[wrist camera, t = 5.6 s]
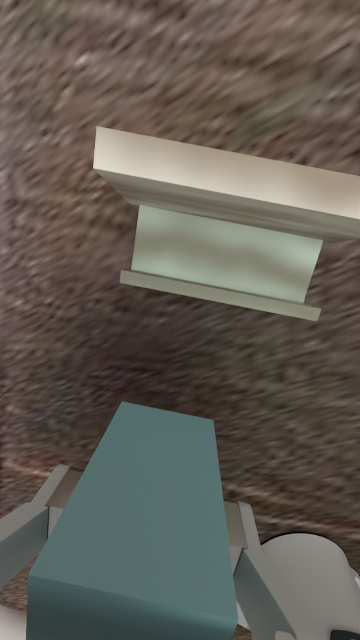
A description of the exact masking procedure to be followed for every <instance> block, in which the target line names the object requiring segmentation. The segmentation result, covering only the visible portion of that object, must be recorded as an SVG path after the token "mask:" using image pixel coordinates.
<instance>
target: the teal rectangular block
mask: <svg viewBox="0 0 360 640" xmlns="http://www.w3.org/2000/svg"><path fill="white" fill-rule="evenodd" d="M238 621H239V619H238V612H237V604H236V596H235V588H234V580H233V572H232V564H231V556H230V548H229V540H228V533H227V525H226V517H225V509H224V501H223V493H222V485H221V477H220V469H219V461H218V454H217V446H216V438H215V430H214V422H213V420H211V419H206V418H201V417H196V416H191V415H186V414H181V413H176V412H171V411H166V410H162V409H157V408H152V407H147V406H142V405H137V404H132V403H127V402H121V404H120V406H119V408H118V410H117V412H116V413H115V415H114V417H113V419H112V421H111V423H110V424H109V426H108V428H107V430H106V432H105V434H104V436H103V437H102V439H101V441H100V443H99V445H98V447H97V449H96V450H95V452H94V454H93V456H92V458H91V460H90V462H89V463H88V465H87V467H86V469H85V471H84V473H83V474H82V476H81V478H80V480H79V482H78V484H77V486H76V487H75V489H74V491H73V493H72V495H71V497H70V499H69V500H68V502H67V504H66V506H65V508H64V510H63V512H62V513H61V515H60V517H59V519H58V521H57V523H56V524H55V526H54V528H53V530H52V532H51V534H50V536H49V537H48V539H47V541H46V543H45V545H44V547H43V549H42V550H41V552H40V554H39V556H38V558H37V560H36V562H35V563H34V565H33V567H32V569H31V571H30V573H29V575H28V601H27V627H26V628H27V629H26V640H231V639H232V636H233V634H234V631H235V629H236V626H237V623H238Z"/></svg>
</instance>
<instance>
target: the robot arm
mask: <svg viewBox="0 0 360 640" xmlns="http://www.w3.org/2000/svg"><path fill="white" fill-rule="evenodd" d="M84 471H85V470H83V469H79V468H75V467H71V466H67V465H62V464H59V465H58V466H56V467H55V469H54V470H53V472H52V473H51V474H50V476H49V477H48V479H47V480H46V482H45V483H44V484H43V486H42V487H41V489H40V490H39V492H38V493H37V494H36V496H35V497H34V499H33V500H32V502H31V503H29V502H26V503H25V504H23V505H22V506H20V507H19V508H17V509H15V510H14V511H12V512H11V513H9V514H8V515H6V516H5V517H3V518H2V519H0V589H1V588H2V587H3V586H5V585H6V584H7V583H8V582H9V581H10V580H11V579H12V578H13V577H14V576H15V575H16V574H17V573H18V572H19V571H20V570H21V569H22V568H24V567H25V566H26V565H27V564H28V563H29V562H30V561H31V560H32V559H33V558H34V557H35V556H36V555H37V554H38V553H39V552H40V551H41V550H42V549H43V547H44V545H45V543H46V541H47V539H48V537H49V536H50V534H51V532H52V530H53V528H54V526H55V524H56V523H57V521H58V519H59V517H60V515H61V513H62V512H63V510H64V508H65V506H66V504H67V502H68V500H69V499H70V497H71V495H72V493H73V491H74V489H75V487H76V486H77V484H78V482H79V480H80V478H81V476H82V474H83V473H84ZM223 501H224V509H225V517H226V525H227V533H228V540H229V548H230V556H231V564H232V572H233V580H234V588H235V596H236V604H237V612H238V619H239V621H238V624H240V625H241V626H243V627H244V628H246V629H248V630H251V634H252V640H360V577H359V575H358V573H357V572H356V571H355V570H353V569H352V568H351V567H350V566H349V564H348V561H347V558H346V556H345V554H344V552H343V551H342V550H341V548H340V547H339V546H337V545H336V544H335V543H333V542H332V541H330V540H328V539H326V538H323V537H321V536H317V535H312V534H303V533H298V534H288V535H283V536H280V537H277V538H274V539H272V540H270V541H268V542H266V543H265V544H263V545H260V541H259V537H258V533H257V529H256V525H255V521H254V517H253V513H252V509H251V506H250V504H246V503H241V502H237V501H233V500H228V499H223Z"/></svg>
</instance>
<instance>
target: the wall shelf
mask: <svg viewBox="0 0 360 640" xmlns="http://www.w3.org/2000/svg"><path fill="white" fill-rule="evenodd" d="M93 168H94V169H95V170H96V171H97V172H98V173H99V174H100V175H101V176H102V177H103V178H104V179H105V180H106V181H107V182H108V183H109V184H110V185H111V186H112V187H113V188H114V189H115V190H116V191H117V192H118V193H119V194H120V195H121V196H122V197H123V198H124V199H125V200H126V201H127V202H128V203H129V204H130V205H131V206H132V207H133V208H134V209H135V210H136V211H137V212H138V213H139V214H138V222H137V229H136V237H135V245H134V252H133V260H132V267H131V269H130V270H121V275H120V283H124V284H129V285H134V286H140V287H145V288H150V289H155V290H160V291H165V292H170V293H175V294H181V295H186V296H191V297H196V298H201V299H206V300H211V301H216V302H221V303H227V304H232V305H237V306H242V307H247V308H252V309H257V310H262V311H267V312H273V313H278V314H283V315H288V316H293V317H298V318H303V319H308V320H314V321H317V320H318V317H319V314H320V312H321V309H320V308H317V307H314V306H311V305H308V304H305V303H303V301H304V298H305V295H306V292H307V289H308V286H309V283H310V280H311V277H312V274H313V271H314V268H315V265H316V262H317V259H318V255H319V252H320V249H321V246H322V245H323V244H329V243H335V242H341V241H347V240H353V239H360V176H355V175H350V174H344V173H339V172H334V171H329V170H323V169H318V168H313V167H308V166H302V165H297V164H292V163H287V162H281V161H276V160H271V159H266V158H260V157H255V156H250V155H245V154H239V153H234V152H229V151H223V150H218V149H213V148H208V147H202V146H197V145H192V144H187V143H181V142H176V141H171V140H166V139H160V138H155V137H150V136H145V135H139V134H134V133H129V132H124V131H118V130H113V129H108V128H103V127H97V130H96V142H95V154H94V166H93Z"/></svg>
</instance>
